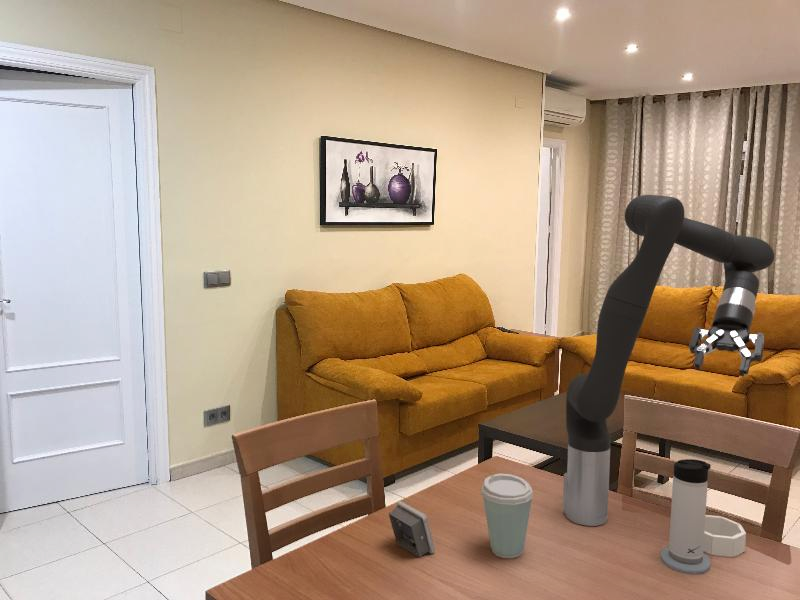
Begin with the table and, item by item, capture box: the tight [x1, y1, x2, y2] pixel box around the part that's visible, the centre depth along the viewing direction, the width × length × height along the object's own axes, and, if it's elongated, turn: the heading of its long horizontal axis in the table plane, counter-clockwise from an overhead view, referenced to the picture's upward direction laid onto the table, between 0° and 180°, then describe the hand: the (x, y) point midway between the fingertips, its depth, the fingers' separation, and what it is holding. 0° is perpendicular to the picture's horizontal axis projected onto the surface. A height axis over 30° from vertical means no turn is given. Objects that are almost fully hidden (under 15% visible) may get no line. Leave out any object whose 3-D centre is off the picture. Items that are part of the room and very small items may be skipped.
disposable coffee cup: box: [480, 473, 534, 559], centre depth 132 cm, size 11×11×15 cm
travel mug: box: [668, 458, 712, 564], centre depth 127 cm, size 6×7×20 cm
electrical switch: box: [388, 500, 436, 558], centre depth 133 cm, size 9×5×9 cm, turn 38°
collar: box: [703, 514, 747, 558], centre depth 135 cm, size 10×10×4 cm
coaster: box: [660, 546, 711, 575], centre depth 128 cm, size 9×9×1 cm
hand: (719, 371), depth 137 cm, fingers open, 8 cm apart
